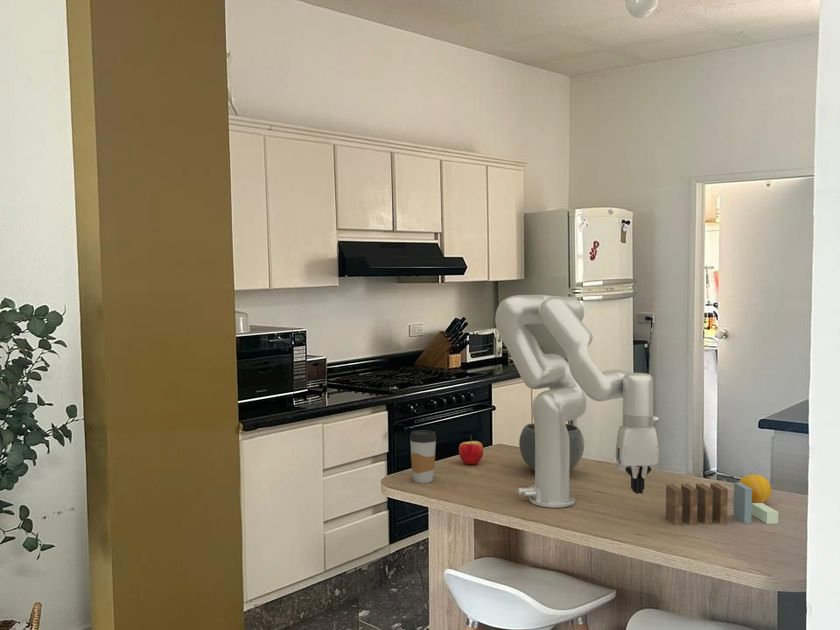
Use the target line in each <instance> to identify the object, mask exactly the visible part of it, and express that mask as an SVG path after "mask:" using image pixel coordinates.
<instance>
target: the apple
mask: <svg viewBox="0 0 840 630" xmlns="http://www.w3.org/2000/svg"><path fill="white" fill-rule="evenodd" d="M470 438H472V435H470ZM458 455H459V457H460V458H459V459H460V460H461V461H462V462H463V463H464V464H466V465H477V464H478V463H480V462H481V460H482V458H483V455H484V445H483V443H482V442H480V441H478V440H470V441H463V442H461V443H460V444H459V446H458Z"/></svg>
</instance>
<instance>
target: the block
mask: <svg viewBox="0 0 840 630" xmlns="http://www.w3.org/2000/svg"><path fill="white" fill-rule="evenodd" d="M751 516H753V517H755V518H756V517H757V519H758V520H760V521H761V522H763V523H765V524H766V525H770V524H771V525H772V524H773V525H775V524H776V525H777V524H779V511H777V510H775V509H774V508H772V507H770V506H769V505H766V504H765V503H752V509H751Z"/></svg>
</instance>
